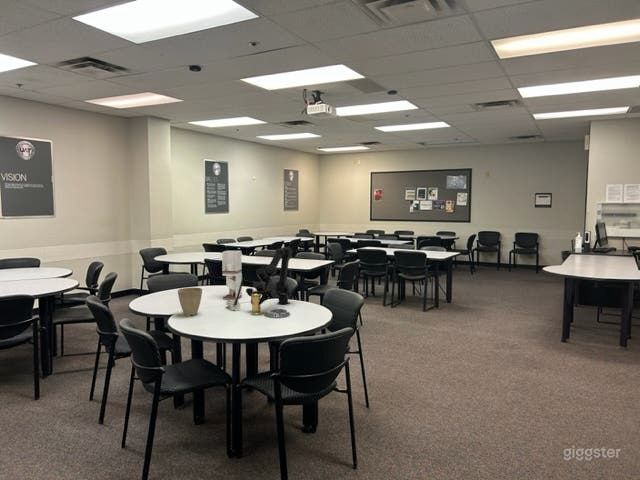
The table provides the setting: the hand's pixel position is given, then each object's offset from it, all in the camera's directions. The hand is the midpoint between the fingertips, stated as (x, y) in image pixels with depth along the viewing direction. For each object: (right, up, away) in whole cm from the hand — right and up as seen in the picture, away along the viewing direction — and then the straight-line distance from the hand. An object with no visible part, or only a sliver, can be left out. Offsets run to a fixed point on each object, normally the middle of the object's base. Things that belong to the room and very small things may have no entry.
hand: (255, 304), depth 283 cm
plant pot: (-41, -7, 0) cm, 41 cm away
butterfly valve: (-17, -6, +18) cm, 26 cm away
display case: (-24, -3, +51) cm, 56 cm away
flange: (+14, -7, -1) cm, 15 cm away
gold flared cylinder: (+1, -6, +2) cm, 7 cm away
